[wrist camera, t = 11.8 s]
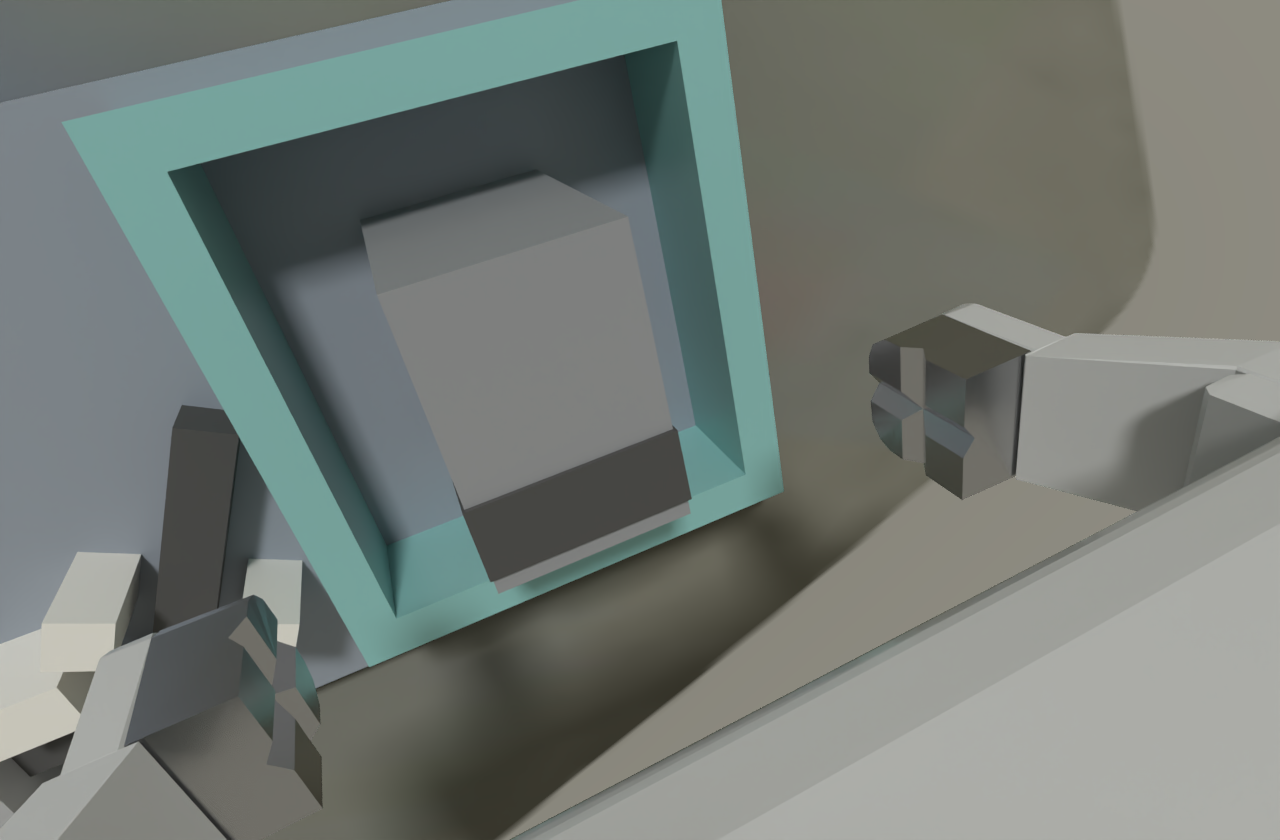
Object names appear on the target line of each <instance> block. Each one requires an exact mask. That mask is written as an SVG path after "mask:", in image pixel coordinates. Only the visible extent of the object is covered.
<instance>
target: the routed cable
mask: <svg viewBox="0 0 1280 840" xmlns="http://www.w3.org/2000/svg"><path fill="white" fill-rule="evenodd" d="M239 447H240V437H239V436H238V434H237V432H236V430H235V429H234V427H233V425H232V423H231V422H230V420H229V418H228V416H227V414H226V413H225V411H224V410H221V409H213V408H204V407H196V406H187V405H182V406H181V408H180V410H179V413H178V415H177V418H176V420H175V423H174V425H173V427H172V436H171V446H170V457H169V467H168V478H167V488H166V499H165V509H164V520H163V530H162V541H161V551H160V561H159V572H158V582H157V593H156V603H155V614H154V624H153V633H158V632H159V631H160V630H163V629H165V628H168V627H171V626H173V625H176V624H178V623H181V622H184V621H186V620H189V619H191V618H194V617H197V616H199V615H202V614H204V613H207V612H210V611H212V610H215V609H217V608H219V602H220V594H221V587H222V579H223V571H224V563H225V556H226V548H227V540H228V532H229V525H230V517H231V509H232V501H233V494H234V486H235V478H236V470H237V463H238V455H239ZM74 733H75V732H72V733H70V734H67V735H65V736H62V737H60V738H57V739H55V740H53V741H50V742H48V743H45V744H43V745H40V746H38V747H35V748H33V749H30V750H28V751H25V752H23V753H21V754H18V755H16V756H13V757H11V758H12V759H13V760H14V761H15V762H16V763H17V764H18V765H19V766H20V767H21V768H22V769H23V770H24V771H25V772H26V773H27V774H28V775H29V776H30V777H32V776H34V775H37V774H39V773H41V772H44V771H46V770H49V769H51V768H53V767H56V766H58V765H61V764H63V763H64V762H65V759H66V756H67V753H68V750H69V747H70V745H71V742H72V739H73V736H74Z"/></svg>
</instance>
